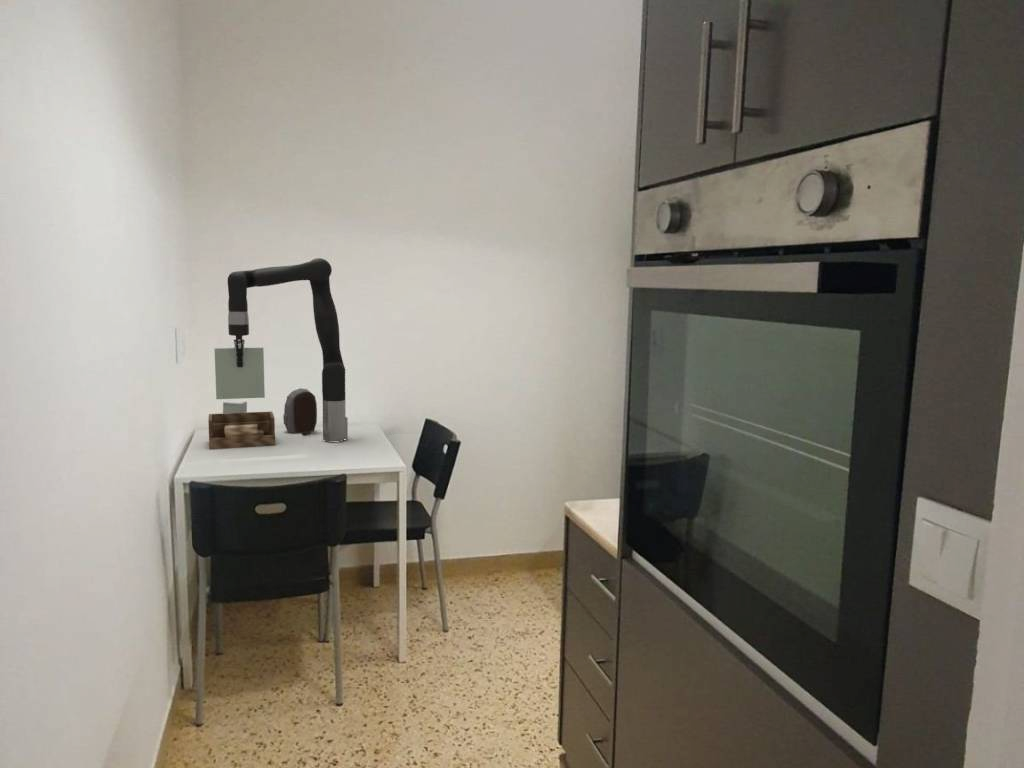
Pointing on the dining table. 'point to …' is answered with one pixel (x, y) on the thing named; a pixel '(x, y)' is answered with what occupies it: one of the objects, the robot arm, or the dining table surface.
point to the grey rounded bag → (300, 412)
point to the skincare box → (234, 406)
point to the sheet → (239, 374)
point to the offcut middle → (259, 433)
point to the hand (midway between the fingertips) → (239, 366)
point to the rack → (260, 418)
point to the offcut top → (241, 429)
